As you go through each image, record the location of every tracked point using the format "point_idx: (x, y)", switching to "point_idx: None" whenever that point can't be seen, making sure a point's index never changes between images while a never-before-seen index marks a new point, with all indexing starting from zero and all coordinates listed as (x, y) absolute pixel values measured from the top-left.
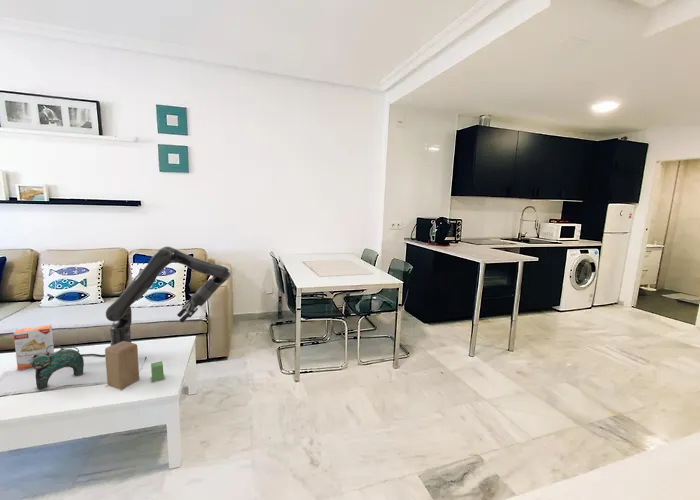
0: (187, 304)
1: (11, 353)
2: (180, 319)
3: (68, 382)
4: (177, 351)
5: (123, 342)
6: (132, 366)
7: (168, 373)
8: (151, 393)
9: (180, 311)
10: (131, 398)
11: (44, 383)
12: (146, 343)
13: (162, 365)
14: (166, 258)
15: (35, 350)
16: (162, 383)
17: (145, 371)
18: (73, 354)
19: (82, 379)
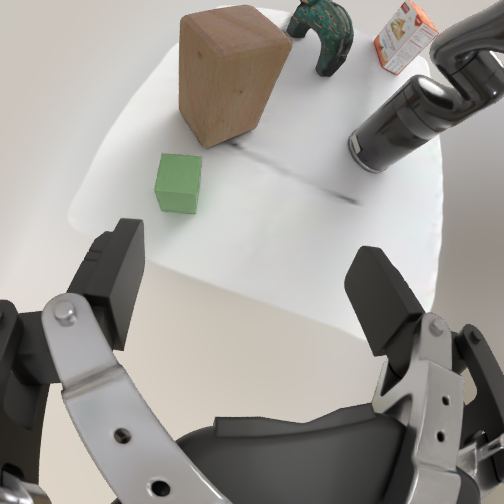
0: (438, 456)
1: (426, 62)
2: (116, 226)
3: (294, 55)
4: None
5: (269, 33)
6: (195, 98)
7: (194, 233)
8: (105, 167)
9: (397, 288)
10: (119, 125)
11: (292, 27)
12: (428, 226)
13: (155, 189)
14: None
15: (393, 34)
16: (138, 202)
17: (255, 175)
18: (334, 26)
19: (294, 69)
